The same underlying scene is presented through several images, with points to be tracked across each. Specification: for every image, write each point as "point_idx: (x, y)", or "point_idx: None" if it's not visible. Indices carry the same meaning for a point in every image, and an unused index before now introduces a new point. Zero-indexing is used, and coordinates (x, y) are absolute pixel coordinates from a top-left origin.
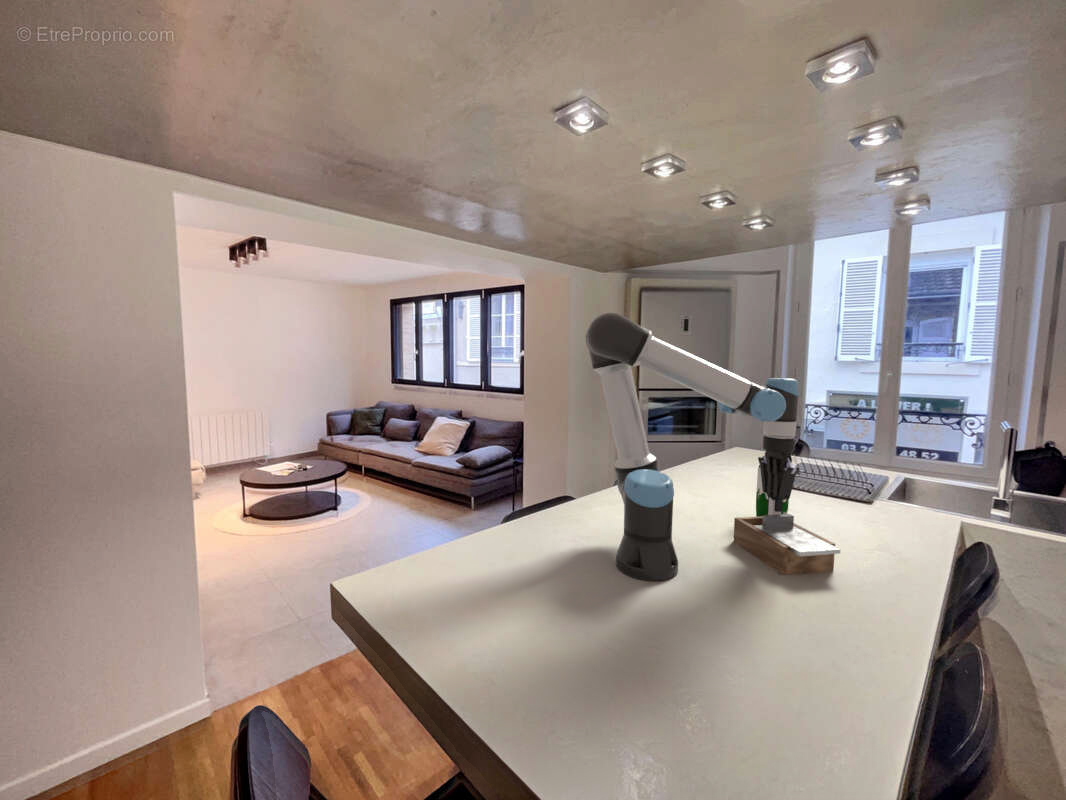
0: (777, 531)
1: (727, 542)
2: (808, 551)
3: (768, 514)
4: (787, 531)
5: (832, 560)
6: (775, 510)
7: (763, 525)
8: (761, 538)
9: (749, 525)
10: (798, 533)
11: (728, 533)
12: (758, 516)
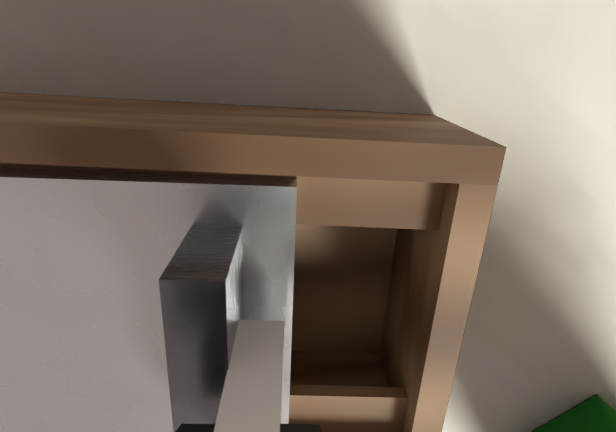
0: (151, 285)
1: (434, 67)
2: None
3: (278, 361)
4: (146, 349)
5: None
6: (202, 430)
7: (222, 236)
8: (119, 120)
9: (306, 155)
10: (107, 389)
11: (544, 164)
12: (612, 426)
